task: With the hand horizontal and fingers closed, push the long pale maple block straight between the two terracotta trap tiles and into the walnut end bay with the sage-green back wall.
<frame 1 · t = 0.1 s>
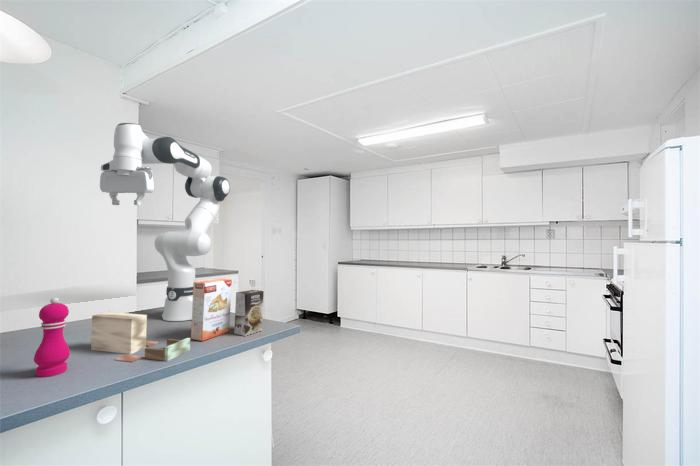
hand: (126, 205, 122), 48 cm above the worktop, tool pointing down, fingers open, 8 cm apart
pepper mill: (51, 373, 89), on the worktop
trap course: (146, 351, 107), on the worktop
coffee box: (248, 332, 131), on the worktop
cracker box: (211, 336, 126), on the worktop
maple block: (118, 349, 109), on the worktop
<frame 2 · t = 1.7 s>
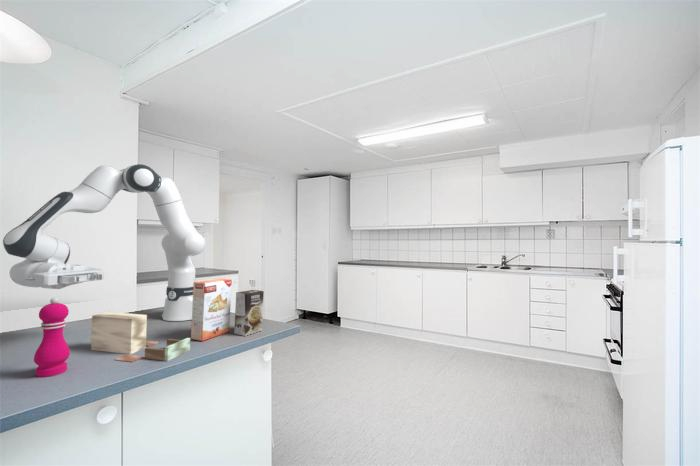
hand: (89, 278, 112), 22 cm above the worktop, tool horizontal, fingers open, 7 cm apart
nothing on the worktop moved.
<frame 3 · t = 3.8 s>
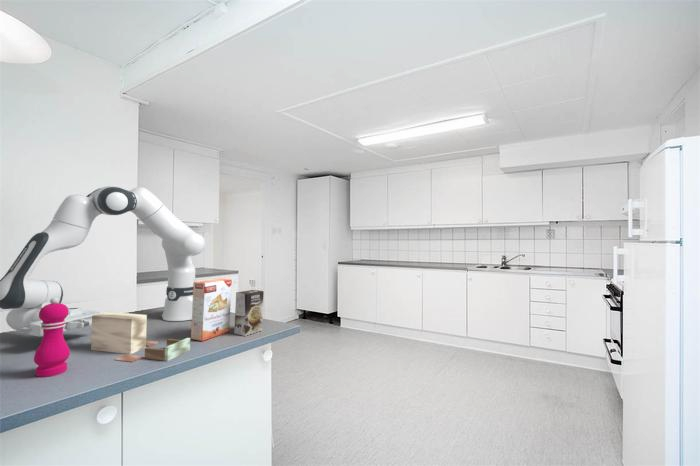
hand: (86, 324, 111), 7 cm above the worktop, tool horizontal, fingers closed
nothing on the worktop moved.
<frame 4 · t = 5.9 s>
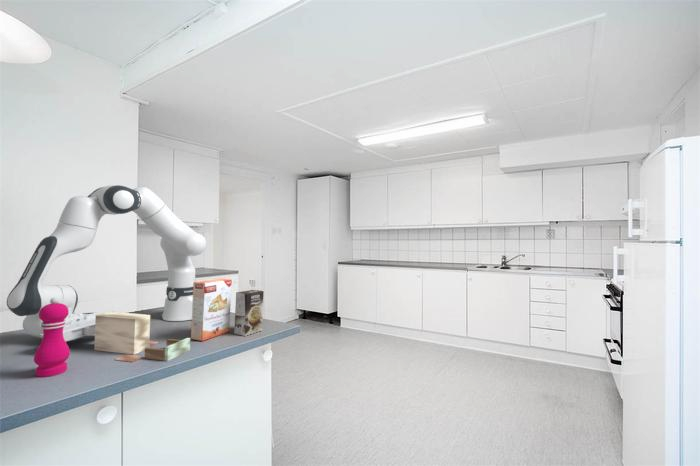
hand: (103, 330, 110), 5 cm above the worktop, tool horizontal, fingers closed, pressing on maple block
maple block: (122, 349, 109), on the worktop, touching gripper
everything else where it was.
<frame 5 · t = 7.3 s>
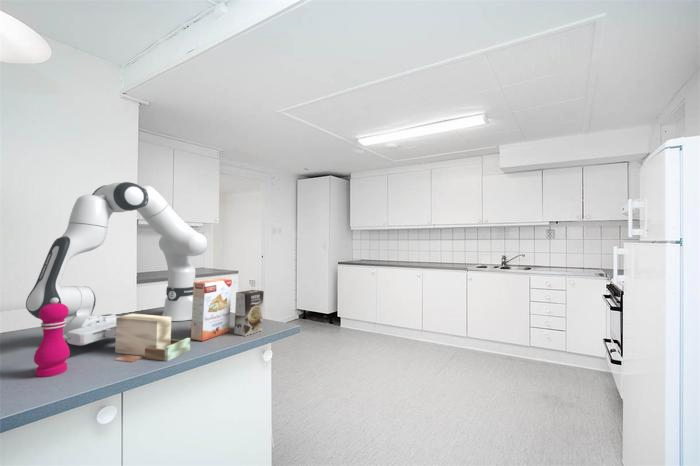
hand: (124, 332, 109), 5 cm above the worktop, tool horizontal, fingers closed, pressing on maple block
maple block: (143, 351, 107), on the worktop, touching gripper
everything else where it was.
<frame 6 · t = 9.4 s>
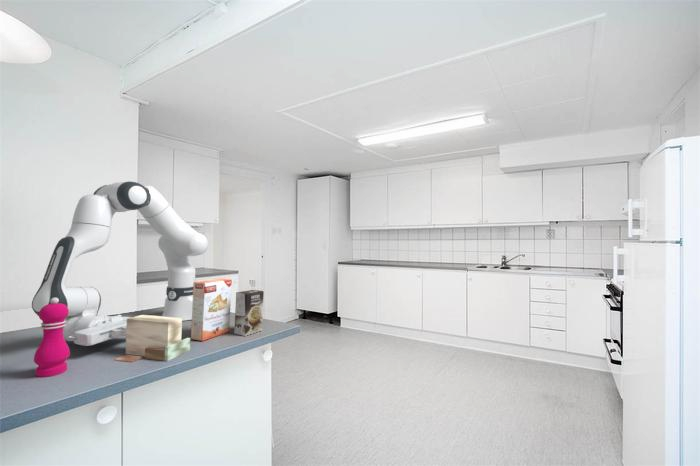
hand: (130, 332, 108), 6 cm above the worktop, tool horizontal, fingers closed
maple block: (153, 353, 106), on the worktop
everything else where it was.
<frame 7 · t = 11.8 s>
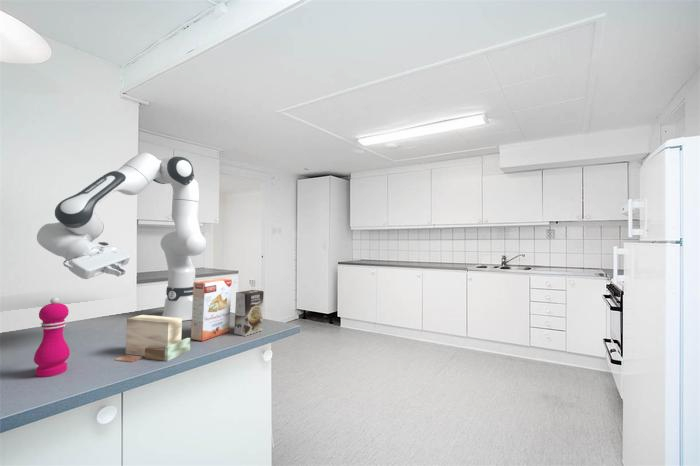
hand: (122, 273, 116), 24 cm above the worktop, tool tilted 65°, fingers closed
nothing on the worktop moved.
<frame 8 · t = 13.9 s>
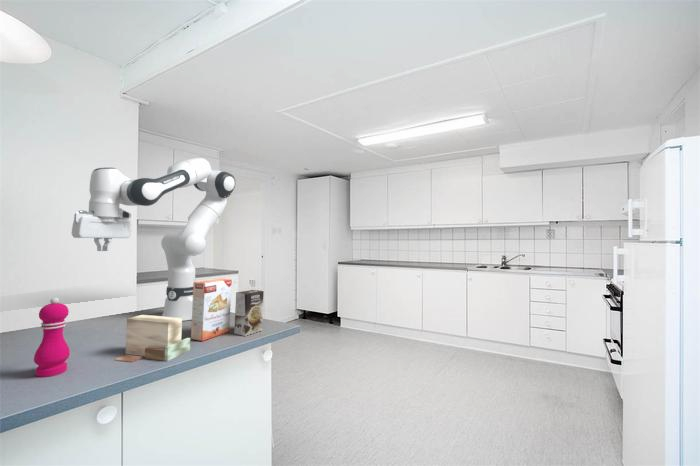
hand: (102, 251, 119), 31 cm above the worktop, tool pointing down, fingers closed
nothing on the worktop moved.
at the end: maple block inside the target area (0.1 cm from its centre), on the worktop; maple block tilted 0° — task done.
